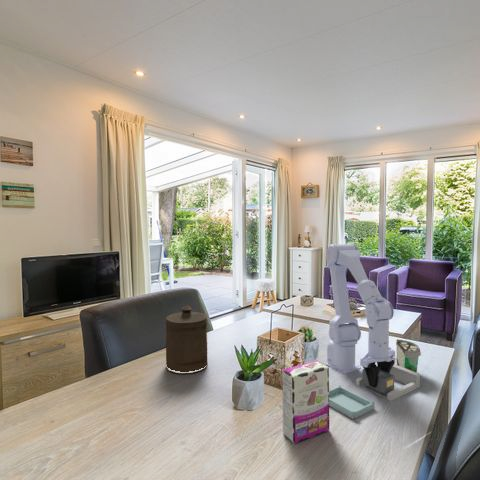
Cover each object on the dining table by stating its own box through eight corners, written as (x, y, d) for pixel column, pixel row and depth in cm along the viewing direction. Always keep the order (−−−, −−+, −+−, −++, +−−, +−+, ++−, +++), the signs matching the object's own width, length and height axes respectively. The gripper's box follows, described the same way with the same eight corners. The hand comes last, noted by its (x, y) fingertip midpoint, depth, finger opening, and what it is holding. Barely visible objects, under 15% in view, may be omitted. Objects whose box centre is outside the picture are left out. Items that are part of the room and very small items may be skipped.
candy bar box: (316, 421, 90) (317, 359, 89) (330, 431, 86) (330, 366, 85) (281, 433, 85) (281, 368, 84) (293, 445, 81) (293, 376, 80)
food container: (425, 383, 110) (426, 353, 110) (404, 381, 112) (405, 351, 111) (414, 367, 122) (414, 339, 122) (395, 366, 124) (396, 338, 123)
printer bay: (355, 385, 110) (356, 371, 109) (384, 373, 118) (384, 360, 118) (390, 401, 99) (391, 386, 99) (419, 387, 108) (420, 373, 107)
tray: (319, 399, 101) (319, 393, 101) (339, 391, 105) (339, 385, 105) (353, 419, 91) (353, 412, 90) (374, 409, 95) (374, 403, 95)
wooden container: (212, 359, 131) (211, 302, 130) (200, 376, 117) (199, 312, 116) (175, 356, 134) (174, 300, 133) (159, 373, 119) (158, 310, 118)
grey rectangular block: (362, 383, 108) (362, 369, 108) (371, 379, 110) (371, 366, 110) (385, 394, 101) (385, 379, 101) (394, 390, 104) (394, 375, 103)
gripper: (375, 349, 98) (374, 396, 98) (404, 339, 106) (403, 382, 106) (354, 342, 104) (354, 386, 104) (383, 333, 112) (383, 374, 112)
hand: (377, 384), depth 106 cm, fingers closed on grey rectangular block, 4 cm apart
